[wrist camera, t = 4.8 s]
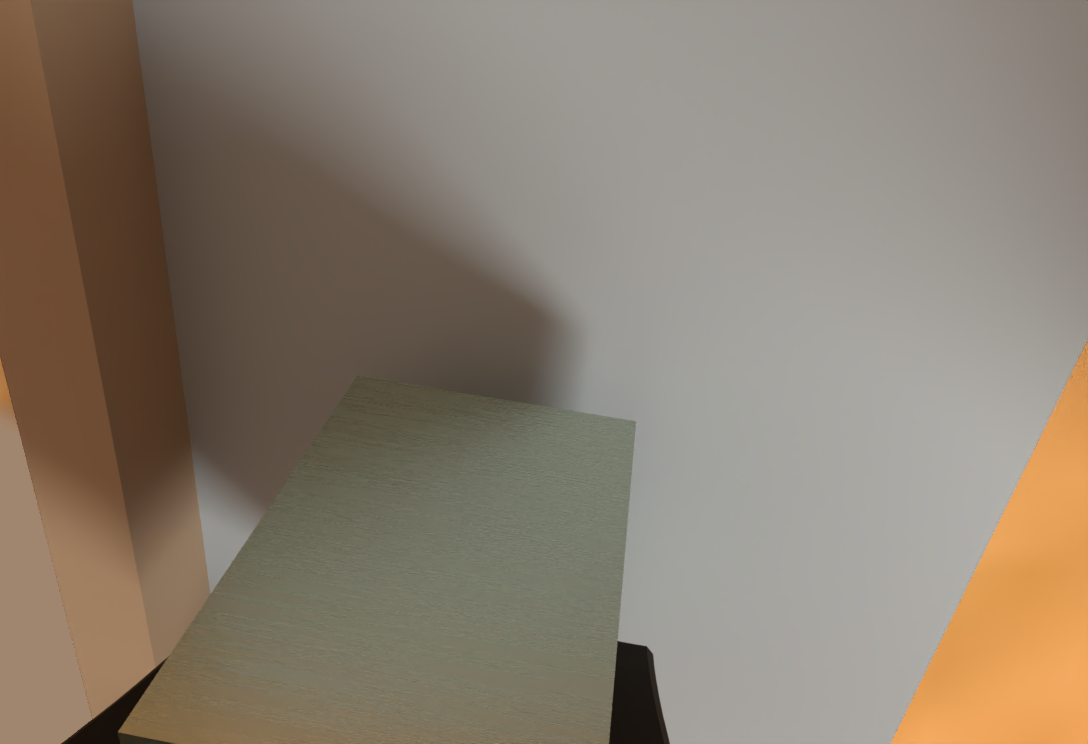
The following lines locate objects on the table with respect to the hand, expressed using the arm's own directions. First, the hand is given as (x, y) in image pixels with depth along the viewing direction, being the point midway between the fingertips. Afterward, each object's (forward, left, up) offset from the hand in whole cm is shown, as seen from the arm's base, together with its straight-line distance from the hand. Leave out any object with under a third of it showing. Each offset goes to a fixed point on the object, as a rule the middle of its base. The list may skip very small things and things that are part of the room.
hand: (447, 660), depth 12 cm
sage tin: (0, 0, -2) cm, 2 cm away
